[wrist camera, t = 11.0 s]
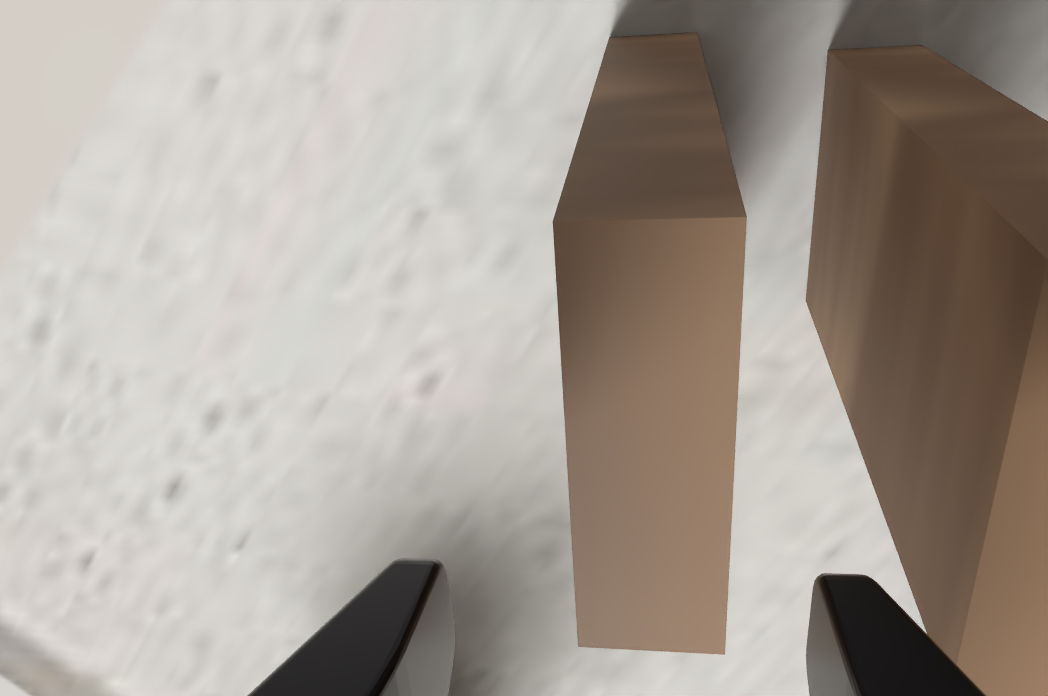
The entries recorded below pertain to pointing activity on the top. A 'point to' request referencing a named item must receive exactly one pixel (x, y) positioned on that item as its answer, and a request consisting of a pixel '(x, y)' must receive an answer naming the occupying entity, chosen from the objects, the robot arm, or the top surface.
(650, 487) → the tile
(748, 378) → the top surface
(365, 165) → the top surface
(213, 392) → the top surface
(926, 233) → the tile
